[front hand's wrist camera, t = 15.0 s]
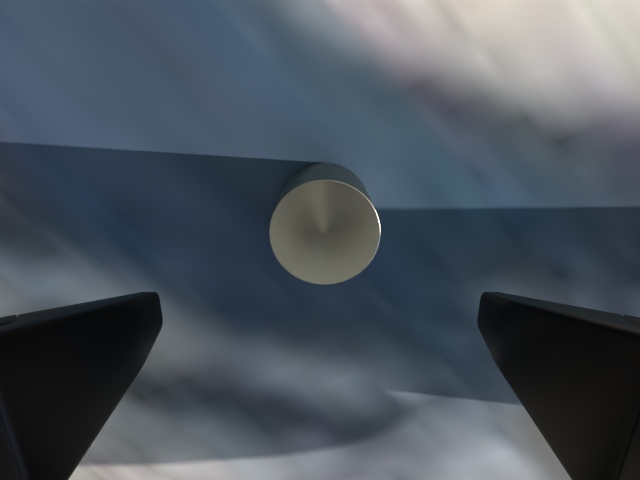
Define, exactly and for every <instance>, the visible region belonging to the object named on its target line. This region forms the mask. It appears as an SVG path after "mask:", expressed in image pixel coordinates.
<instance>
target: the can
mask: <svg viewBox="0 0 640 480" xmlns="http://www.w3.org/2000/svg"><path fill="white" fill-rule="evenodd" d="M269 236H270V243H271V247H272V249H273V252H274V254H275V256H276V258H277V260H278V261H279V262H280V264H281V265H282V266H283V267H284V268H285V269H286V270H287V271H288V272H289V273H291V274H292V275H294V276H295V277H297V278H299V279H301V280H303V281H306V282H309V283H314V284H322V285H327V284H336V283H340V282H344V281H346V280H348V279H351V278H353V277H354V276H356V275H357V274H359V273H360V272H361V271H363V270H364V269H365V268H366V267H367V266H368V264H369V263H370V262H371V261H372V259H373V257H374V256H375V254H376V251H377V249H378V246H379V242H380V236H381V228H380V221H379V218H378V214H377V212H376V210H375V208H374V205H373V203H372V201H371V199H370V197H369V195H368V193H367V191H366V188H365V187H364V185H363V183H362V182H361V180H360V179H359V178H358V177H357V176H356V175H355V174H354V173H352V172H351V171H350V170H348V169H346V168H344V167H342V166H339V165H336V164H332V163H317V164H312V165H309V166H306V167H304V168H302V169H300V170H299V171H297V172H296V173H295V174H294V175H292V176H291V177H290V179H289V180H288V181H287V182H286V184H285V185H284V187H283V189H282V191H281V194H280V197H279V199H278V202H277V204H276V207H275V209H274V212H273V215H272V218H271V222H270V229H269Z"/></svg>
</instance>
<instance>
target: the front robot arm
mask: <svg viewBox="0 0 640 480" xmlns="http://www.w3.org/2000/svg"><path fill="white" fill-rule="evenodd" d="M162 321H163V319H162V312H161V306H160V299H159V296H158V294H157V293H156V292H141V293H135V294H130V295H124V296H119V297H113V298H108V299H102V300H97V301H91V302H86V303H80V304H75V305H70V306H64V307H59V308H53V309H48V310H42V311H37V312H31V313H26V314H20V315H18V316H16V315H12V316H6V317H1V318H0V480H68V479H69V478H70V476H71V475H72V473H73V472H74V470H75V469H76V467H77V465H78V464H79V462H80V461H81V459H82V458H83V456H84V455H85V453H86V452H87V450H88V449H89V447H90V446H91V444H92V443H93V441H94V440H95V438H96V437H97V435H98V434H99V432H100V430H101V429H102V427H103V426H104V424H105V423H106V421H107V420H108V418H109V417H110V415H111V414H112V412H113V411H114V409H115V408H116V406H117V405H118V403H119V402H120V400H121V398H122V397H123V395H124V394H125V392H126V391H127V389H128V388H129V386H130V385H131V383H132V382H133V380H134V379H135V377H136V376H137V374H138V373H139V371H140V369H141V368H142V366H143V365H144V363H145V361H146V359H147V357H148V355H149V353H150V351H151V349H152V347H153V344H154V342H155V340H156V338H157V336H158V334H159V332H160V330H161V328H162ZM477 321H478V328H479V330H480V332H481V334H482V336H483V338H484V340H485V342H486V344H487V347H488V349H489V351H490V353H491V355H492V357H493V359H494V361H495V363H496V365H497V366H498V368H499V369H500V371H501V373H502V374H503V376H504V377H505V379H506V380H507V382H508V383H509V385H510V386H511V388H512V389H513V391H514V392H515V394H516V395H517V397H518V398H519V400H520V402H521V403H522V405H523V406H524V408H525V409H526V411H527V412H528V414H529V415H530V417H531V418H532V420H533V421H534V423H535V424H536V426H537V427H538V429H539V430H540V432H541V433H542V435H543V436H544V438H545V440H546V441H547V443H548V444H549V446H550V447H551V449H552V450H553V452H554V453H555V455H556V456H557V458H558V459H559V461H560V462H561V464H562V465H563V467H564V468H565V470H566V471H567V473H568V475H569V476H570V478H571V479H572V480H640V318H639V317H634V316H628V315H624V316H622V315H620V314H614V313H609V312H603V311H598V310H593V309H587V308H582V307H576V306H571V305H565V304H560V303H554V302H549V301H543V300H538V299H532V298H527V297H521V296H516V295H510V294H505V293H499V292H484V293H483V294H482V296H481V299H480V306H479V312H478V319H477Z"/></svg>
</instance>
